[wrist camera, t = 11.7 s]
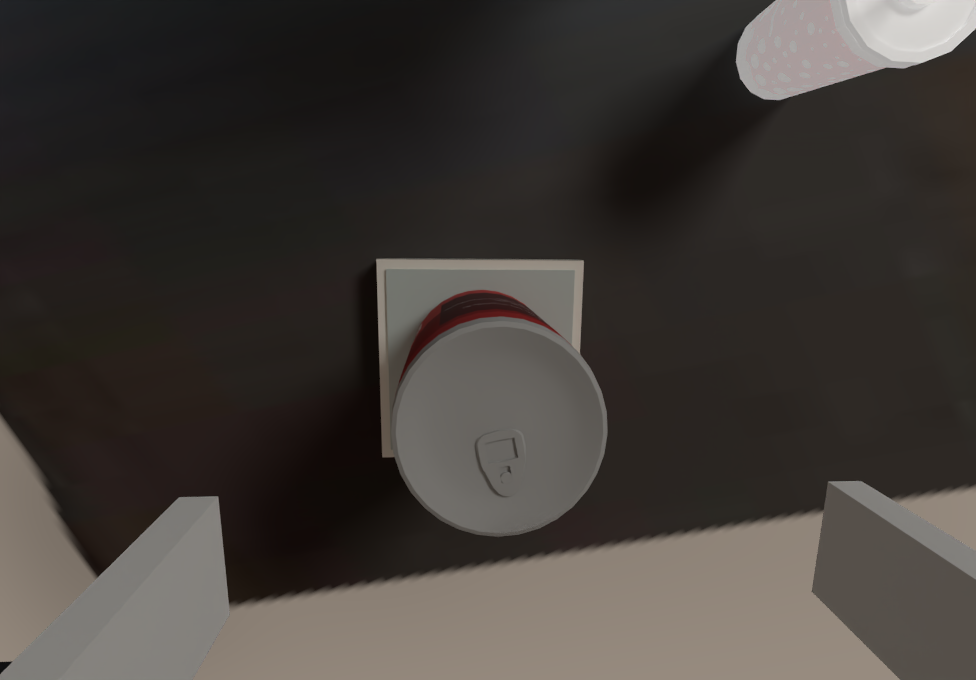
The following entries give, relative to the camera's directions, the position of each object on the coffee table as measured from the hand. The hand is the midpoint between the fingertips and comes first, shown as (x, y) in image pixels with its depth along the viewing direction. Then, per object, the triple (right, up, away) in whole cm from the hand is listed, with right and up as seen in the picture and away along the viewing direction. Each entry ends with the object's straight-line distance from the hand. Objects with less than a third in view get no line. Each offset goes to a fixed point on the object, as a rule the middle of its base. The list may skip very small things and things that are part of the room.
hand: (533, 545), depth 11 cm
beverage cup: (+15, +20, +17) cm, 30 cm away
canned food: (-1, +3, +18) cm, 18 cm away
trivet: (-1, +4, +19) cm, 20 cm away
